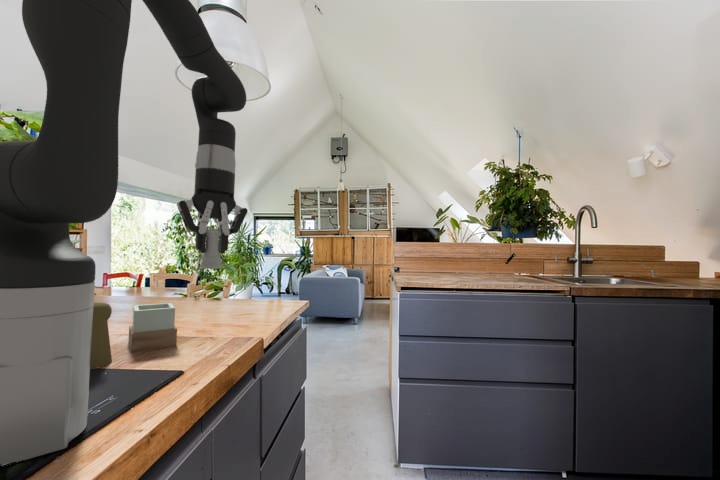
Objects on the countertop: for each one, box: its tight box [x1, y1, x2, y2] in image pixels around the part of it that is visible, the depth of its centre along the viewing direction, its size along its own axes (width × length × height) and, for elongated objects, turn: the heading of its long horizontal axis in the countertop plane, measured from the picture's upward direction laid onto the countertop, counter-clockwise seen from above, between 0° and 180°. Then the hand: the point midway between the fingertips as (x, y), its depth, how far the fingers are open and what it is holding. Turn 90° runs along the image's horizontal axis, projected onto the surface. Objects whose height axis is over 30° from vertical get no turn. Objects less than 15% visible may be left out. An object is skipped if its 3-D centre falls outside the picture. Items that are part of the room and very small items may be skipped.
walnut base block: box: [128, 324, 178, 353], centre depth 68 cm, size 8×8×4 cm
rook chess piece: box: [199, 228, 224, 270], centre depth 64 cm, size 4×4×8 cm
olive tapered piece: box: [90, 302, 113, 371], centre depth 56 cm, size 6×6×11 cm
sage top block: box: [132, 302, 176, 333], centre depth 68 cm, size 7×7×4 cm
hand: (211, 252), depth 64 cm, fingers closed on rook chess piece, 3 cm apart
